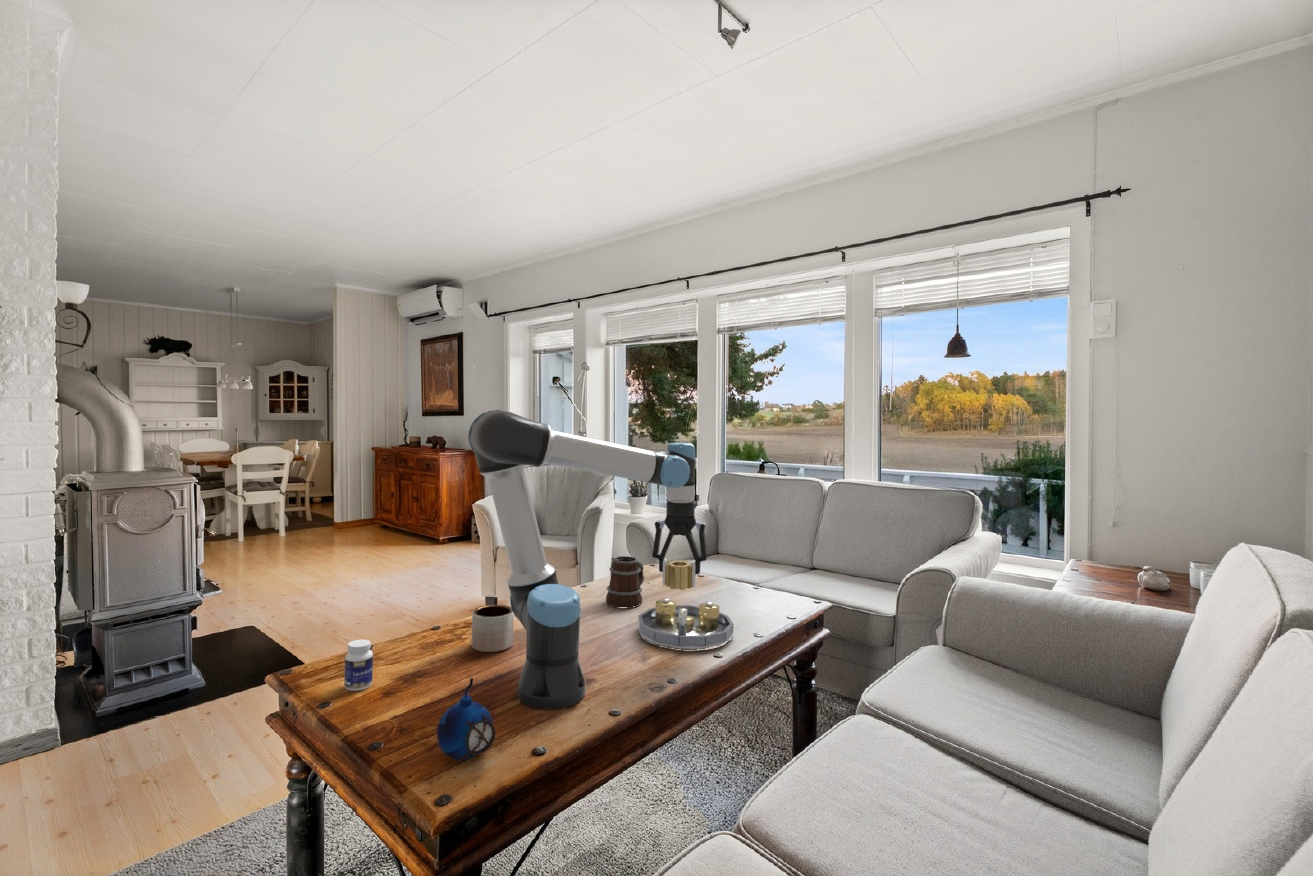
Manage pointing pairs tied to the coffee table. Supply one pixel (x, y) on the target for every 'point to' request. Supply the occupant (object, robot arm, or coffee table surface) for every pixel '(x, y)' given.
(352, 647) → the pill bottle
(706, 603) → the carrier
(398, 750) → the coffee table surface
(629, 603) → the mug
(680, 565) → the planet gear
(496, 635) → the planter
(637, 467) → the robot arm
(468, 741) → the bomb
